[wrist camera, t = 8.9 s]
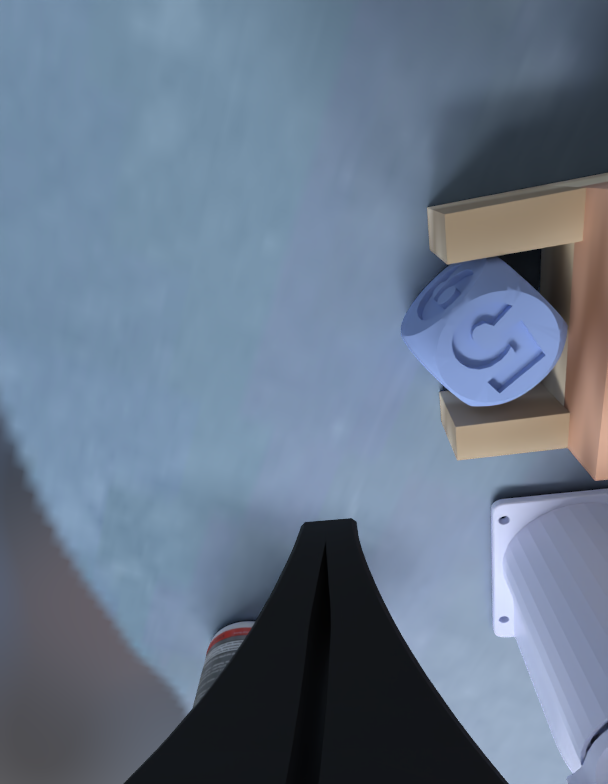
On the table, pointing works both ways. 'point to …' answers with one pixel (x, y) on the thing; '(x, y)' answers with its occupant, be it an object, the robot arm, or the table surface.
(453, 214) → the block structure
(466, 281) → the decorative dice
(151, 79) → the table surface
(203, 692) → the pill bottle
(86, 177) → the table surface
